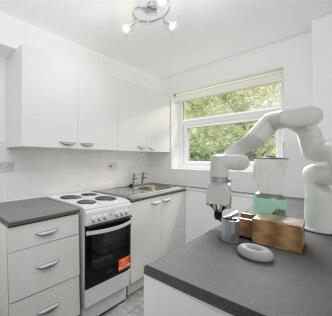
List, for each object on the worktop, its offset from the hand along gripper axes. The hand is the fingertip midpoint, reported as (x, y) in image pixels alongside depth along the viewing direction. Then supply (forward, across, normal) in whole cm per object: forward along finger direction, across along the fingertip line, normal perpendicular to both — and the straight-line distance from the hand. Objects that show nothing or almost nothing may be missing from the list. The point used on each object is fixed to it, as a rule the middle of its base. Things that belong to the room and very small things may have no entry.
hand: (217, 219), depth 104 cm
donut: (+5, -19, +23) cm, 30 cm away
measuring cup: (+5, -9, +13) cm, 16 cm away
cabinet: (+5, -22, 0) cm, 22 cm away
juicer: (+5, -15, -22) cm, 27 cm away
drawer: (+4, -10, 0) cm, 11 cm away
